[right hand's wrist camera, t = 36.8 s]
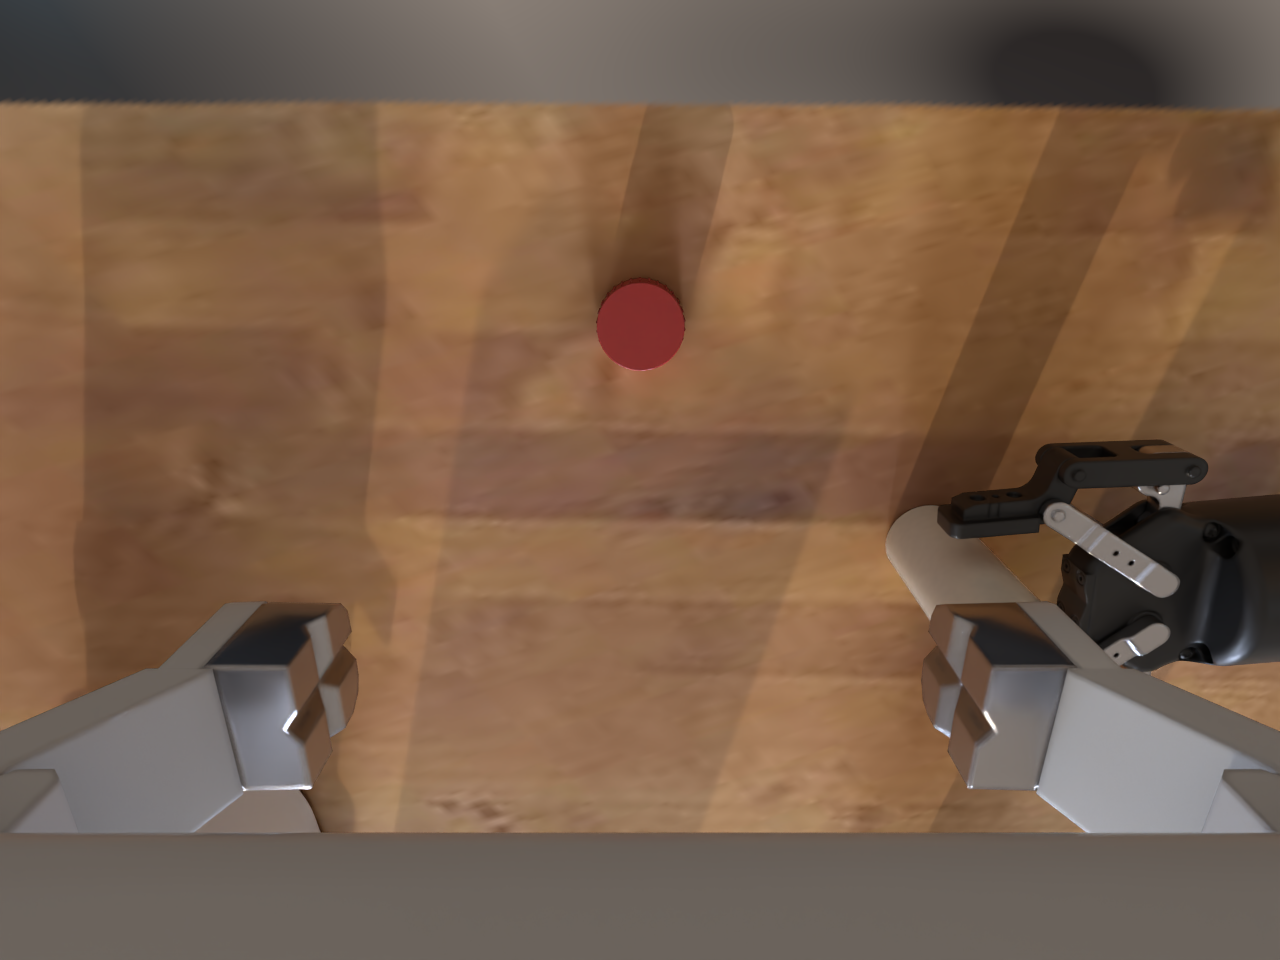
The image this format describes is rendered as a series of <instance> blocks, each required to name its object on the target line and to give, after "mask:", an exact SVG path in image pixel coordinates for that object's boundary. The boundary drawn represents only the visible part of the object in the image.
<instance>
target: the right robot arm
mask: <svg viewBox="0 0 1280 960" xmlns="http://www.w3.org/2000/svg"><path fill="white" fill-rule="evenodd" d="M351 632H352V631H351V626H350V621H349V616H348V612H347V610H346V609H345V608H344V606H343V605H342V604H341V603H294V602H269V603H268V602H265V601H260V602H232V603H226V604H224V605H223V606H222V607H221V608H220V609H219V610H218V611H217V612H216V613H215V614H214V615H213V616H212V617H211V618H210V619H209V620H208V621H207V622H206V623H205V624H204V625H203V626H202V627H201V628H200V629H198V630H197V631H196V632H195V633H194V634H193V635H192V636H191V637H190V638H189V639H188V640H187V641H186V642H185V643H184V644H183V645H182V646H181V647H180V648H179V649H178V650H177V651H176V652H175V653H174V654H173V655H172V656H171V657H170V658H169V659H167V660H166V661H165V662H164V663H163V664H162V665H161V666H160V667H159V668H158V669H144V670H142V671H139V672H137V673H135V674H132V675H130V676H128V677H125V678H123V679H121V680H118V681H116V682H114V683H111V684H109V685H107V686H104V687H102V688H100V689H97V690H95V691H93V692H90V693H88V694H86V695H84V696H81V697H79V698H77V699H74V700H72V701H70V702H67V703H65V704H63V705H60V706H58V707H56V708H53V709H51V710H49V711H46V712H44V713H42V714H39V715H37V716H35V717H32V718H30V719H28V720H25V721H23V722H21V723H19V724H16V725H14V726H12V727H9V728H7V729H5V730H2V731H0V960H1280V731H1277V730H1275V729H1273V728H1270V727H1268V726H1266V725H1263V724H1261V723H1259V722H1257V721H1254V720H1252V719H1250V718H1247V717H1245V716H1243V715H1240V714H1238V713H1236V712H1233V711H1231V710H1229V709H1226V708H1224V707H1222V706H1219V705H1217V704H1215V703H1213V702H1210V701H1208V700H1206V699H1203V698H1201V697H1199V696H1196V695H1194V694H1192V693H1189V692H1187V691H1185V690H1182V689H1180V688H1178V687H1175V686H1173V685H1171V684H1169V683H1166V682H1164V681H1162V680H1159V679H1157V678H1155V677H1152V676H1150V675H1148V674H1145V673H1143V672H1141V671H1138V670H1136V669H1122V668H1121V667H1120V666H1119V665H1118V664H1117V663H1116V662H1115V661H1114V660H1113V659H1112V658H1111V657H1110V656H1108V655H1107V654H1106V653H1105V652H1104V651H1103V650H1102V649H1101V648H1100V647H1099V646H1098V645H1097V644H1096V643H1095V642H1094V641H1093V640H1092V639H1091V638H1090V637H1089V636H1088V635H1087V634H1086V633H1085V632H1084V631H1083V630H1082V629H1081V628H1080V627H1079V626H1078V625H1077V624H1075V623H1074V622H1073V621H1072V620H1071V619H1070V618H1069V617H1068V616H1067V615H1066V614H1065V613H1064V612H1063V611H1062V610H1061V609H1060V608H1059V607H1058V606H1057V605H1056V604H1053V603H1050V602H1047V601H1038V602H1007V603H967V604H940V605H936V607H935V609H934V611H933V613H932V615H931V620H930V625H929V631H928V632H929V633H930V635H931V636H932V638H933V639H934V641H935V642H936V644H937V646H936V647H935V648H934V649H933V650H932V651H931V652H930V653H929V654H928V655H927V656H926V657H925V658H924V662H923V669H922V677H921V684H922V695H923V702H924V705H925V708H926V711H927V714H928V716H929V718H930V720H931V722H932V724H933V726H934V728H936V729H937V730H939V731H941V732H942V733H944V734H945V735H947V736H948V737H950V740H949V746H948V753H949V755H950V757H951V758H952V760H953V762H954V764H955V765H956V767H957V769H958V771H959V772H960V774H961V776H962V778H963V780H964V781H965V783H966V785H967V787H968V788H969V789H994V790H1031V791H1037V793H1036V794H1038V795H1039V796H1040V797H1041V798H1043V799H1044V800H1045V801H1047V802H1048V803H1049V804H1050V805H1052V806H1053V807H1054V808H1056V809H1057V810H1058V811H1060V812H1061V813H1062V814H1063V815H1065V816H1066V817H1067V818H1069V819H1070V820H1071V821H1072V822H1074V823H1075V824H1076V825H1078V826H1079V827H1080V828H1082V829H1083V830H1084V831H1085V832H1087V833H321V832H320V829H319V827H318V824H317V821H316V818H315V816H314V813H313V811H312V809H311V807H310V805H309V803H308V802H307V800H306V799H305V797H304V796H303V794H302V793H301V792H300V790H299V789H312V787H313V785H314V783H315V781H316V780H317V778H318V776H319V774H320V773H321V771H322V769H323V767H324V765H325V764H326V762H327V760H328V758H329V757H330V755H331V753H332V746H331V740H330V737H332V736H333V735H335V734H336V733H338V732H339V731H341V730H343V729H344V728H346V726H347V724H348V722H349V720H350V718H351V716H352V714H353V712H354V708H355V704H356V700H357V695H358V675H359V674H358V668H357V661H356V658H355V657H354V656H353V655H352V654H351V653H350V652H349V651H348V650H347V649H346V648H345V647H344V646H343V644H344V642H345V641H346V639H347V638H348V636H349V635H350V633H351Z"/></svg>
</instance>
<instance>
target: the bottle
mask: <svg viewBox="0 0 1280 960" xmlns="http://www.w3.org/2000/svg"><path fill="white" fill-rule="evenodd" d="M938 507H939V506H935V505H927V506H920V507H917V508H914V509H912V510H909V511H908V512H906V513H904V514H903V515H902V516H900V517H899V518H898V519H897V520H896V521H895V522H894V524H893V525H892V526H891V528H890V530H889V532H888V535H887V538H886V553H887V557H888V559H889V561H890V562H891V564H892V565H893V567H894V568H895V570H896V571H897V573H898V574H899V576H900V577H901V579H902V580H903V582H904V583H905V585H906V586H907V588H908V589H909V591H910V592H911V594H912V595H913V597H914V598H915V600H916V601H917V603H918V604H919V606H920V607H921V609H922V610H923V611H924V613H925V614H926V616H927V617H928V619H929V620H931V615H932V613H933V611H934V609H935V607H936V605H940V604H967V603H1007V602H1038V601H1040V600H1039V599H1038V598H1037V597H1036V596H1035V595H1034V593H1033V592H1032V591H1031V590H1030V589H1029V588H1028V587H1027V586H1026V585H1025V584H1024V583H1023V582H1022V581H1021V580H1020V579H1019V578H1018V577H1017V576H1016V575H1015V574H1014V573H1013V572H1012V571H1011V570H1010V569H1009V568H1008V567H1007V566H1006V565H1005V564H1004V563H1003V562H1002V561H1001V560H1000V559H999V558H998V557H997V556H996V555H995V554H994V553H993V552H992V550H991V549H990V548H989V547H988V546H987V545H986V544H985V543H984V542H983V541H982V540H981V539H980V538H970V539H956V538H952V537H950V536H949V535H948V534H947V533H946V532H945V531H944V530H943V529H942V528H941V527H940V526H939V524H938V523H937V514H938Z"/></svg>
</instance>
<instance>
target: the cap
mask: <svg viewBox="0 0 1280 960" xmlns="http://www.w3.org/2000/svg"><path fill="white" fill-rule="evenodd" d="M679 304H680V302H679V299H678V298H677V299H676V297H675V296H674V293H673V291H670V290H669V289H668V288H667V286H666V285H665V286H664V285H663V284H661V283H659V281H658V280H657V281H654V280H651V279H650V278H648V279H645V278H641V277H639V278H636V279H632V278H630V280H627V281H625V282H623V281H622V282H621V284H619V285H617V286H614V288H613V289H612V290H611V292H610V293H609V292H608V293H607V296H606V298H605V300H603V301H602V303H601V305H602V306H601V308H599V311H598V314H599V315H598V318H597V321H596V323H597V333H598V338H599V342H600V344H601V346H602V348H603V350H604V351H605V353H606V354H607V355H608V356H609V358H611V359H612V360H613V361H614V362H615V363H617V364H618V365H620V366H622V367H624V368H627V369H631V370H637V371H645V370H651V369H654V368H657V367H659V366H661V365H663V364H665V363H666V362H668V361H669V360H670V359H671V358H672V357H673V356H674V355H675V353H676V352H677V351H678V349H679V348H680V345H681V343H682V340H683V336H684V331H685V325H684V322H685V318H684V315H683V309H682V306H681V307H680V305H679Z"/></svg>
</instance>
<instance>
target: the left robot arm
mask: <svg viewBox="0 0 1280 960" xmlns="http://www.w3.org/2000/svg"><path fill="white" fill-rule="evenodd" d="M1035 460H1036V463H1037V465H1038V467H1037V469H1036V471H1035V473H1034V475H1033V477H1032V479H1031V480H1030V481H1029V482H1028V483H1026V484H1025V485H1023V486H1022V487H1019V488H1011V489H1000V490H989V491H978V492H967V493H962V494H959V495H957V496H955V497H953V498H952V500H951V504H948V505H941V506H939V507H938V514H937V523H938V524H939V526H940V527H941V528H942V529H943V530H944V531H945V532H946V533H947V534H948V535H949V536H950V537H952V538H956V539H970V538H981V537H993V536H1004V535H1015V534H1027V533H1038V532H1039V525H1040V524H1046V525H1047V526H1049V527H1050V528H1052V529H1053V530H1055V531H1056V532H1058V533H1060V534H1061V535H1063V536H1064V537H1066V538H1068V539H1069V540H1071V541H1072V542H1074V543H1075V544H1076V545H1075V546H1074V547H1073V548H1072V549H1071V551H1070V553H1069V554H1063V557H1062V566H1061V571H1062V576H1063V581H1064V583H1063V586H1062V588H1061V591H1060V593H1059V595H1058V598H1057V606H1058V607H1059V608H1060V609H1061V610H1062V611H1063V612H1064V613H1065V614H1066V615H1067V616H1068V617H1069V618H1070V619H1071V620H1072V621H1073V622H1074V623H1075V624H1077V625H1078V626H1079V627H1080V628H1081V629H1082V630H1083V631H1084V632H1085V633H1086V634H1087V635H1088V636H1089V637H1090V638H1091V639H1092V640H1093V641H1094V642H1095V643H1096V644H1097V645H1098V646H1099V647H1100V648H1101V649H1102V650H1103V651H1104V652H1105V653H1106V654H1107V655H1108V656H1110V657H1111V658H1112V659H1113V660H1114V661H1115V662H1116V663H1117V664H1118V665H1119V666H1120V667H1121V668H1122V669H1136V670H1138V671H1141V672H1143V673H1145V674H1148V675H1150V676H1151V671H1154V670H1156V669H1158V668H1160V667H1162V666H1164V665H1167V664H1169V663H1172V662H1175V661H1191V662H1197V663H1203V664H1209V665H1217V666H1232V665H1244V664H1256V663H1269V662H1280V494H1277V495H1265V496H1254V497H1242V498H1231V499H1219V500H1208V501H1197V502H1187V503H1182V501H1183V497H1184V493H1185V489H1186V485H1191V484H1195V483H1198V482H1199V481H1201V480H1202V479H1203V478H1204V477H1205V476H1206V474H1207V472H1208V464H1207V462H1206V461H1205V460H1204V459H1202V458H1200V457H1198V456H1196V455H1193V454H1191V453H1189V452H1187V451H1185V450H1183V449H1181V448H1179V447H1177V446H1174V445H1172V444H1170V443H1168V442H1166V441H1164V440H1135V441H1108V442H1081V443H1054V444H1047V445H1044V446H1043V447H1041V448H1040V449H1039V450H1038V452H1037V454H1036V457H1035ZM1108 487H1132V488H1134V489H1135V490H1137V491H1139V492H1140V493H1142V494H1144V495H1146V496H1147V499H1145V500H1142V501H1139V502H1137V503H1136V504H1134V505H1132V506H1131V507H1129V508H1128V509H1126V510H1125V511H1123V512H1122V513H1120V514H1119V515H1117V516H1116V517H1114V518H1113V519H1111V520H1110V521H1108V522H1107V523H1106V524H1104V525H1103V524H1102V523H1100V522H1099V521H1097V520H1095V519H1094V518H1092V517H1091V516H1089V515H1088V514H1086V513H1085V512H1083V511H1082V510H1080V509H1078V508H1077V507H1075V506H1074V505H1072V504H1071V501H1072V499H1073V497H1074V495H1075V493H1076V491H1077V489H1080V488H1108Z"/></svg>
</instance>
